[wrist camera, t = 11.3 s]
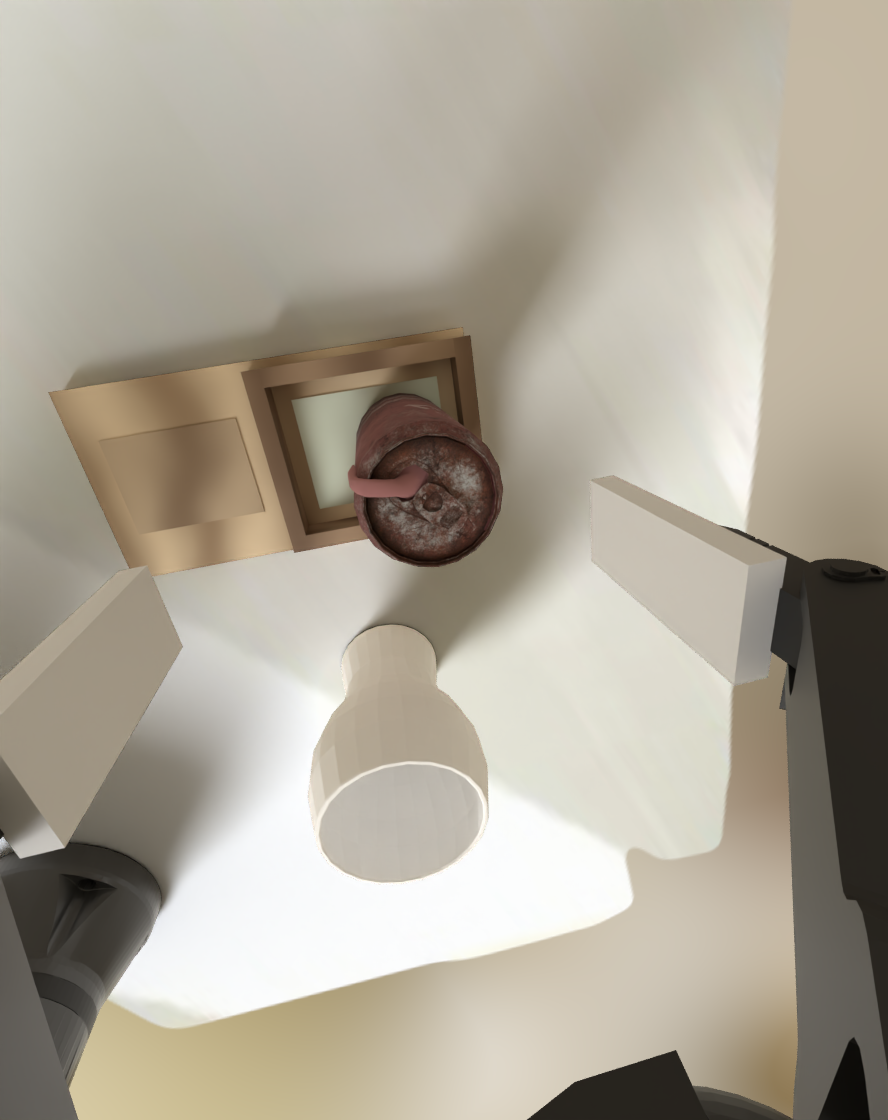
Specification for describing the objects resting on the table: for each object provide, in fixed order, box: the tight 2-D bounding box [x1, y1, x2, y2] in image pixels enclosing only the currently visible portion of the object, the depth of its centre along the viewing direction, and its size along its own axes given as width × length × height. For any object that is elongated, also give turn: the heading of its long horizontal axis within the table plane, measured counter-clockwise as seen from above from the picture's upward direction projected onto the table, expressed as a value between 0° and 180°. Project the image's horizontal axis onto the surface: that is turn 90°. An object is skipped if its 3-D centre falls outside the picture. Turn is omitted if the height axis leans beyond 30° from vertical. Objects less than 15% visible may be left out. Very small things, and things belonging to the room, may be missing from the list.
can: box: [348, 393, 503, 567], centre depth 25 cm, size 6×6×14 cm
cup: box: [308, 624, 489, 884], centre depth 33 cm, size 11×11×15 cm
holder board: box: [48, 327, 482, 576], centre depth 31 cm, size 24×12×4 cm, turn 98°
